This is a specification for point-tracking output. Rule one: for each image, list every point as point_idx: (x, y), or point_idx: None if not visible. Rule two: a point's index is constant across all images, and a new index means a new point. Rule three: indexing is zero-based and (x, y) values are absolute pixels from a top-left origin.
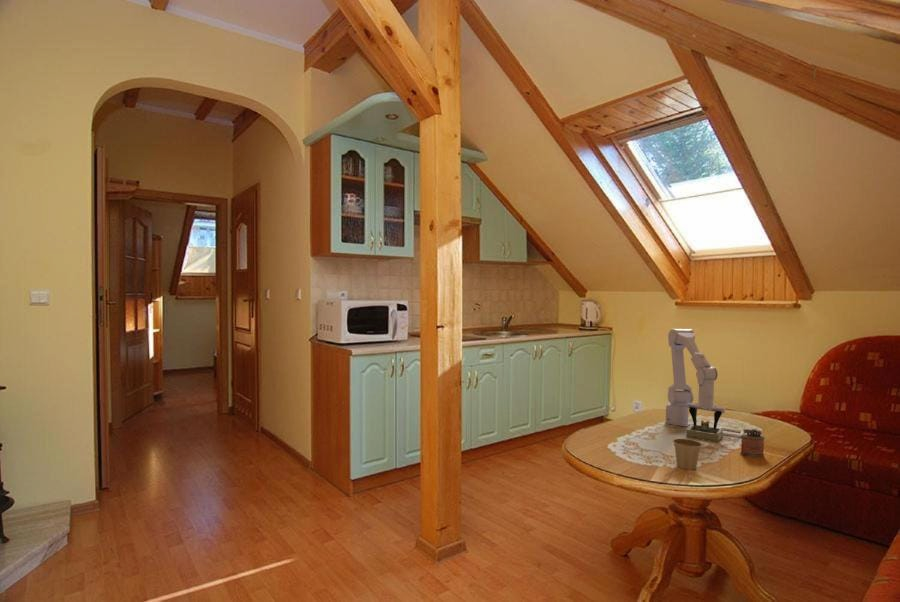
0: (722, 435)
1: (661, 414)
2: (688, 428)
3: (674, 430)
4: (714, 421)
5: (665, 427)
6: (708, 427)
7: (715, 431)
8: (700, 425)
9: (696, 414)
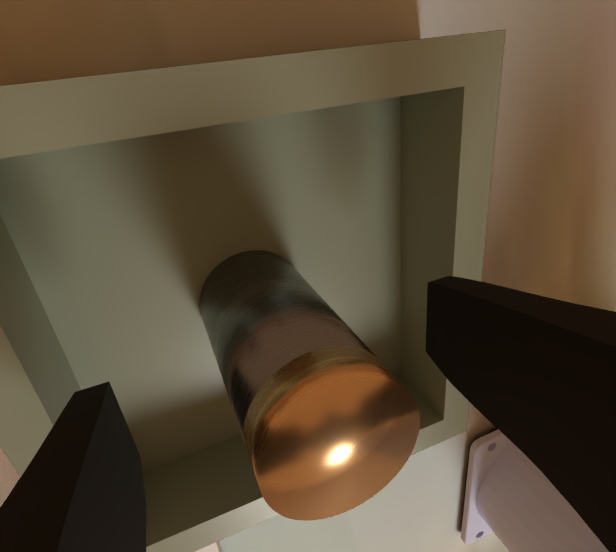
0: None
1: None
2: (486, 155)
3: (550, 237)
4: (51, 531)
5: (613, 269)
6: (226, 375)
7: (180, 487)
8: None
9: (592, 516)
